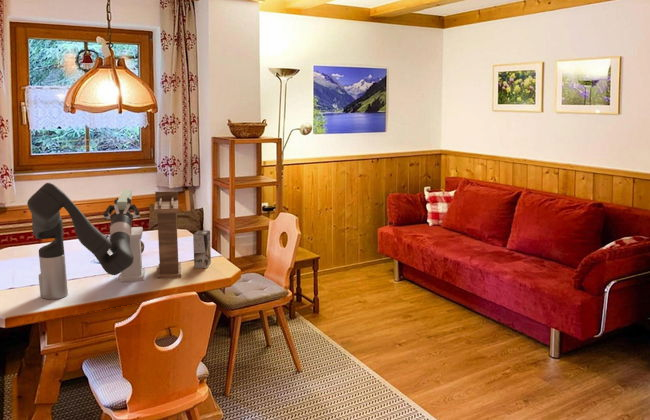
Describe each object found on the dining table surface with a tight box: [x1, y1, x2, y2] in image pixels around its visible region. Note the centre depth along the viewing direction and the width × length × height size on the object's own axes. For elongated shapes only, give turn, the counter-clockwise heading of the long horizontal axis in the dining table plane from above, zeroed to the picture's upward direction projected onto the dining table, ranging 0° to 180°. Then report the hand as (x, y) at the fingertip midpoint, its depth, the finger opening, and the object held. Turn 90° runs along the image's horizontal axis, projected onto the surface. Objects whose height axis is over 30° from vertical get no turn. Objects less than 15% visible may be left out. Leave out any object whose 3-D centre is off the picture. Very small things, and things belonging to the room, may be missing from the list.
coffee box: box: [192, 230, 212, 269], centre depth 274 cm, size 9×6×16 cm
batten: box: [117, 189, 133, 210], centre depth 236 cm, size 26×4×4 cm, turn 14°
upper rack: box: [153, 190, 182, 280], centre depth 261 cm, size 20×10×36 cm, turn 14°
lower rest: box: [118, 226, 146, 283], centre depth 256 cm, size 14×10×21 cm
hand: (123, 199), depth 229 cm, fingers closed on batten, 3 cm apart
